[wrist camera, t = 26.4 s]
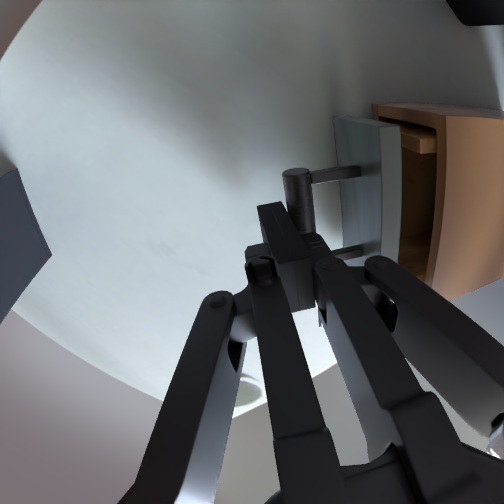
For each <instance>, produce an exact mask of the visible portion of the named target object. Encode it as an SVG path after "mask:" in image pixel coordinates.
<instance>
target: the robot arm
mask: <svg viewBox="0 0 504 504" xmlns="http://www.w3.org/2000/svg"><path fill="white" fill-rule="evenodd" d="M257 210H258V215H259V221H260V226H261V231H262V236H263V242H264V243H261V244H256V245H252V246H248V247H247V249H246V250H245V258H246V263H245V271H246V275H247V279H248V285H247V287H246V288H245V289H244V290H242V291H241V292H239V293H237V294H235V295H232V293H230V292H228V291H216V292H213V293H211V294H209V295H208V296H206V297H205V298H204V300H203V301H202V303H201V306H200V308H199V311H198V313H197V316H196V318H195V321H194V323H193V326H192V328H191V331H190V334H189V336H188V339H187V341H186V344H185V346H184V349H183V351H182V354H181V357H180V359H179V362H178V364H177V367H176V370H175V372H174V375H173V378H172V380H171V383H170V385H169V388H168V391H167V393H166V396H165V399H164V402H163V404H162V407H161V410H160V412H159V415H158V418H157V421H156V423H155V426H154V429H153V432H152V434H151V437H150V440H149V443H148V446H147V448H146V451H145V454H144V457H143V460H142V463H141V466H140V469H139V472H138V474H137V478H136V480H135V483H134V484H133V485H132V487H131V488H130V489H129V490H128V491H127V493H126V494H125V495H124V496H123V497H122V499H121V500H120V501H119V502H118V503H117V504H213V502H214V498H215V494H216V490H217V485H218V480H219V476H220V472H221V467H222V462H223V458H224V453H225V449H226V444H227V439H228V434H229V429H230V425H231V420H232V415H233V411H234V406H235V401H236V396H237V391H238V386H239V381H240V377H241V372H242V367H243V362H244V357H245V352H246V347H247V341H248V340H250V339H252V338H254V337H256V336H257V340H258V346H259V353H260V359H261V365H262V371H263V377H264V383H265V389H266V395H267V401H268V407H269V413H270V419H271V425H272V431H273V438H274V440H273V445H274V452H275V459H276V465H277V470H278V476H279V482H280V488H281V489H280V490H279V491H277V492H276V493H275V494H274V495H272V496H271V497H270V498H269V499H268V500H267V502H265V504H504V346H503V345H502V344H500V343H499V342H498V341H497V340H496V339H495V338H493V337H492V336H491V335H490V334H489V333H488V332H486V331H485V330H484V329H483V328H482V327H480V326H479V325H478V324H477V323H476V322H474V321H473V320H472V319H471V318H469V317H468V316H467V315H466V314H464V313H463V312H462V311H461V310H459V309H458V308H457V307H455V306H454V305H453V304H452V303H450V302H449V301H448V300H446V299H445V298H444V297H443V296H441V295H440V294H439V293H437V292H436V291H435V290H433V289H432V288H431V287H429V286H428V285H427V284H425V283H424V282H422V281H421V280H420V279H418V278H417V277H416V276H414V275H413V274H411V273H410V272H409V271H407V270H406V269H404V268H403V267H402V266H400V265H399V264H397V263H396V262H395V261H393V260H392V259H390V258H388V257H386V256H381V255H375V256H371V257H369V258H367V259H366V260H365V262H364V266H347V264H346V263H345V262H344V261H343V260H342V259H340V258H337V257H335V256H334V255H333V253H332V251H331V250H330V248H329V247H328V245H327V244H326V242H325V241H324V240H323V238H322V237H321V235H319V234H317V233H315V232H310V233H305V234H301V235H300V234H299V232H298V230H297V229H296V227H295V225H294V223H293V221H292V220H291V218H290V216H289V214H288V212H287V211H286V209H285V207H284V205H283V204H282V202H281V201H279V202H274V203H269V204H264V205H259V206H257ZM390 299H391V300H392V301H394V303H393V302H392V301H390ZM315 300H316V302H317V305H318V318H319V327H320V326H321V322H322V324H323V327H324V329H325V332H326V334H327V337H328V339H329V342H330V344H331V347H332V349H333V352H334V355H335V357H336V360H337V362H338V365H339V367H340V370H341V372H342V375H343V378H344V380H345V383H346V386H347V388H348V391H349V394H350V396H351V399H352V402H353V404H354V407H355V410H356V413H357V415H358V418H359V421H360V424H361V427H362V429H363V432H364V435H365V438H366V441H367V450H368V457H369V461H370V463H367V464H362V465H350V466H340V463H339V459H338V456H337V453H336V449H335V446H334V442H333V439H332V436H331V433H330V431H329V429H328V428H327V427H326V425H325V422H324V419H323V415H322V412H321V408H320V405H319V401H318V398H317V395H316V392H315V388H314V385H313V381H312V378H311V375H310V371H309V368H308V365H307V361H306V358H305V355H304V352H303V348H302V345H301V342H300V339H299V335H298V332H297V329H296V326H295V323H294V319H293V316H292V313H293V312H297V311H301V310H306V309H310V308H314V307H316V306H315ZM405 358H406V359H407V360H408V361H409V362H410V363H411V364H412V365H413V366H414V367H415V368H416V369H417V370H418V372H420V374H421V375H422V376H423V377H424V378H425V379H426V380H427V381H428V382H429V383H430V384H431V385H432V386H433V387H434V388H435V389H436V391H437V392H438V393H439V394H440V395H441V396H442V397H443V398H444V399H445V400H446V401H447V402H448V404H449V405H450V406H451V407H452V408H453V409H454V410H455V411H456V412H457V413H458V414H459V415H460V417H461V418H462V419H463V420H464V421H465V422H466V423H467V424H468V425H469V426H470V427H471V428H472V429H473V430H474V431H475V432H477V433H478V434H479V435H481V436H482V437H484V438H485V439H487V440H489V444H488V445H487V453H485V452H483V451H481V450H478V449H476V448H474V447H472V446H469V445H467V444H465V443H462V442H461V441H460V439H459V437H458V435H457V433H456V431H455V429H454V427H453V425H452V423H451V421H450V419H449V417H448V415H447V413H446V411H445V409H444V408H443V406H442V404H441V402H440V400H439V398H438V397H437V396H436V395H435V394H434V393H433V392H431V391H430V392H425V391H424V390H423V389H422V388H421V386H420V384H419V382H418V380H417V379H416V377H415V375H414V373H413V372H412V370H411V368H410V366H409V364H408V363H407V361H406V359H405ZM495 455H496V456H497V457H495Z"/></svg>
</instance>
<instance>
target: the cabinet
mask: <svg viewBox="0 0 504 504" xmlns="http://www.w3.org/2000/svg"><path fill="white" fill-rule="evenodd" d="M372 109H373V118H374V120H377V121H382V122H386V123H391V124H393V123H415V124H420V125H424V126H428V127H432V128H436V130H437V178H436V197H435V210H434V221H433V230H432V238H431V246H430V253H429V259H428V265H427V271H426V277H425V282H424V283H425V284H427V285H428V286H429V287H431V288H432V289H433V290H435V291H436V292H437V293H439V294H440V295H441V296H443V297H444V298H445V299H446V300H448V301H451V300H453V299H456V298H458V297H461V296H463V295H465V294H467V293H470V292H472V291H475V290H477V289H479V288H481V287H483V286H485V285H488V284H490V283H492V282H494V281H496V280H498V279H500V278H502V277H504V111H501V110H494V109H486V108H478V107H469V106H457V105H443V104H418V103H385V104H372Z"/></svg>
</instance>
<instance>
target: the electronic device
mask: <svg viewBox="0 0 504 504" xmlns="http://www.w3.org/2000/svg"><path fill="white" fill-rule="evenodd" d="M446 2H447V3H448V4H449V6H450V7H451V9H452V10H453V12H454V13H455V15H456V16H457V18H458V19H459V20H460V21H461V22H462V23H463V24H465V25H466V26H484V25H504V0H446Z"/></svg>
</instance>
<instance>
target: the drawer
mask: <svg viewBox="0 0 504 504" xmlns="http://www.w3.org/2000/svg"><path fill="white" fill-rule="evenodd" d="M333 124H334V132H335V141H336V150H337V159H338V167H334V168H328V169H322V170H315V171H309V170H308V169H305V168H294V169H289V170H286V171H284V172H283V173H282V178H283V184H284V190H285V197H286V203H287V210H288V214H289V216H290V218H291V220H292V221H293V223H294V225H295V227H296V229H297V230H298V232H299V234H300V235H301V234H305V233H310V232H315V233H316V225H315V215H314V205H313V196H312V187H311V184H312V185H315V184H321V183H326V182H332V181H338V180H339V181H340V195H341V210H342V231H343V248H341V249H336V250H332V253H333V255H334V256H335V257H337V258H340V259H342V260H343V261H345V263H346V264H347V266H364V262H365V260H366V259H367V258H369V257H371V256H375V255H381V256H386V257H388V258H390V259H392V260H393V261H395V262H396V263H397V264H399V265H400V266H402V267H403V268H404V269H406V270H407V271H409V272H410V273H411V274H413V275H414V276H416V277H417V278H418V279H420V280H421V281H422V282H425V277H426V271H427V265H428V259H429V253H430V246H431V238H432V230H433V221H434V210H435V197H436V178H437V130H436V128H432V127H428V126H424V125H420V124H415V123H393V124H391V123H386V122H382V121H377V120H372V119H367V118H362V117H356V116H350V115H346V116H335V117H333ZM390 301H392V300H391V299H390ZM392 302H393V301H392Z"/></svg>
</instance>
